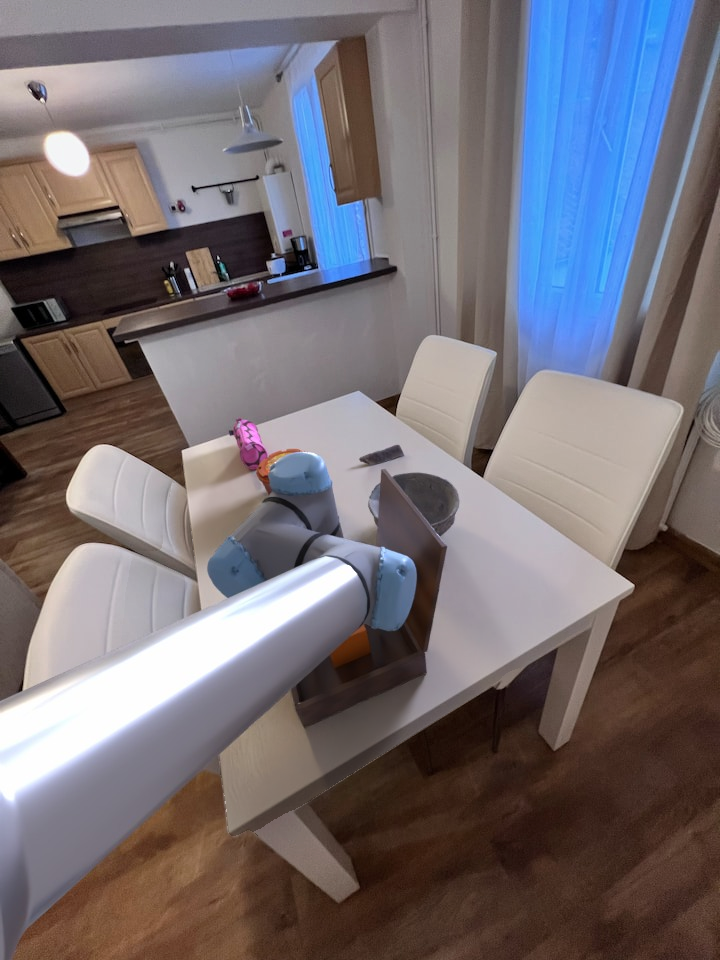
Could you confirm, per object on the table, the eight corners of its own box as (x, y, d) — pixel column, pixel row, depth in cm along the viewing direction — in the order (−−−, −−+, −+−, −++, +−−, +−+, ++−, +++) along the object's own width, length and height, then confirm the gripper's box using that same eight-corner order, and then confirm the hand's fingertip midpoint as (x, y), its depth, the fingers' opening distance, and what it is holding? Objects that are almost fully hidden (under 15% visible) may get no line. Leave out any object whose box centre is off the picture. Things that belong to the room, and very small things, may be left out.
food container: (325, 475, 121) (317, 445, 114) (315, 510, 108) (306, 478, 102) (274, 478, 123) (264, 448, 117) (259, 513, 110) (247, 481, 104)
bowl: (478, 535, 92) (480, 501, 86) (404, 576, 86) (400, 543, 80) (424, 491, 108) (422, 461, 102) (358, 524, 101) (352, 493, 95)
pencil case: (233, 446, 144) (224, 421, 138) (259, 437, 146) (251, 412, 140) (244, 474, 127) (234, 448, 121) (274, 464, 130) (265, 437, 124)
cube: (334, 668, 70) (326, 646, 66) (323, 635, 76) (316, 613, 72) (371, 652, 72) (366, 629, 68) (358, 621, 77) (352, 598, 73)
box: (304, 728, 64) (295, 711, 60) (280, 624, 80) (272, 606, 77) (426, 673, 68) (425, 654, 65) (380, 585, 85) (377, 566, 81)
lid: (442, 547, 52) (469, 540, 54) (381, 469, 69) (403, 465, 70) (423, 653, 65) (445, 645, 66) (375, 565, 81) (394, 560, 82)
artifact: (404, 455, 123) (404, 449, 122) (362, 468, 121) (361, 462, 119) (399, 450, 126) (399, 443, 125) (359, 462, 124) (357, 456, 122)
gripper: (387, 506, 65) (398, 590, 77) (234, 561, 60) (272, 641, 72) (407, 535, 59) (416, 621, 71) (239, 599, 54) (280, 679, 66)
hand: (344, 631), depth 72 cm, fingers open, 13 cm apart
